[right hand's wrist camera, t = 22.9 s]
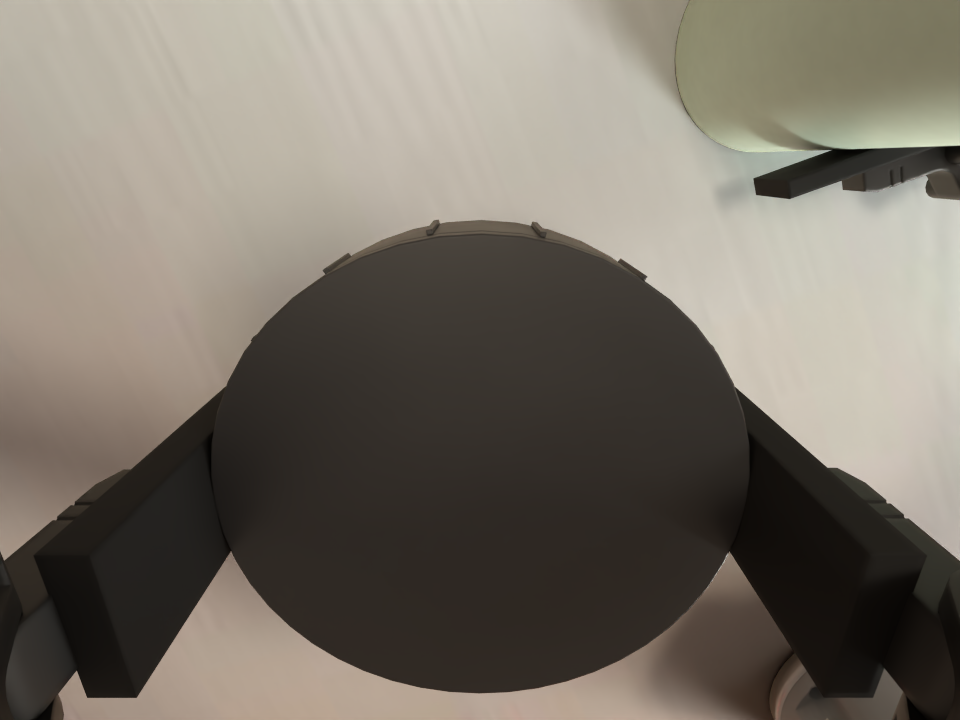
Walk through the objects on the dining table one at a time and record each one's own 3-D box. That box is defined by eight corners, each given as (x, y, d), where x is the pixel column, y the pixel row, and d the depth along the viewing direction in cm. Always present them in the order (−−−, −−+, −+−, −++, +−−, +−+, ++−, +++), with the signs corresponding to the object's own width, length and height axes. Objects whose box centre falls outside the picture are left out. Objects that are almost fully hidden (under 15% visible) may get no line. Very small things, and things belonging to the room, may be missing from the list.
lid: (678, 153, 10) (729, 150, 8) (728, 574, 14) (772, 647, 12) (175, 290, 11) (104, 319, 9) (347, 650, 15) (325, 730, 13)
